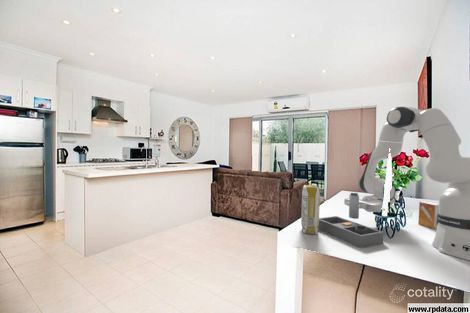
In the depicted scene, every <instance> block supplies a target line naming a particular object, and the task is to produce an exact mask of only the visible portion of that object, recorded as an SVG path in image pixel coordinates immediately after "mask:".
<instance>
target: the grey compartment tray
mask: <svg viewBox="0 0 470 313" xmlns="http://www.w3.org/2000/svg"><path fill="white" fill-rule="evenodd" d="M357 225H363V224H361V223H357V222H355V221H351V220H348V219H346V218H343V217H340V216H337V215H335V216H327V217H319V229H318V230H320V231H322V232H325V233H326V234H328V235H331V236H333V237H335V238H337V239H340V240H342V241H343V242H346V243H348V244H351V245H353V246H355V247H358V248H360V249H362V248H367V247H372V246H376V245H377V244H378V245H382V244H384V231H382V230H378V229H375V228H373V227H369V226H366V225H363V226H365V227H366V228H367V234H364V235H359V234H357V233H355V227H356V226H357Z"/></svg>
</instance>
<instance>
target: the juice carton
mask: <svg viewBox="0 0 470 313" xmlns="http://www.w3.org/2000/svg"><path fill="white" fill-rule="evenodd" d="M320 197H321V193H320V188H319V187H318V184H316V183H311V185H309V184H304V185H303V186H302V191H301V216H300V217H301V218H300V220H301V221H300V222H301V228H302V232H303V234H308V235H318V234H319V230H320V229H319V218H320V204H321V202H320V201H321V198H320Z"/></svg>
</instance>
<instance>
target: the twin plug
mask: <svg viewBox="0 0 470 313" xmlns="http://www.w3.org/2000/svg"><path fill="white" fill-rule="evenodd" d="M365 226H366V225H364V226H363V224H361V225H357V226H356V227H355V233H357V234H359V235H364V234H367V228H366V227H365Z"/></svg>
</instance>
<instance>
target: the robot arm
mask: <svg viewBox="0 0 470 313" xmlns="http://www.w3.org/2000/svg"><path fill="white" fill-rule="evenodd" d="M418 131H420V134H421V137H422V138H423V140H424V142H425V143H426V144H425V145H426V147H427V149H428V151H429V152H428V153H429V161H428V163H426V164H427V165H426V167H425V173H426V175H427V176H428V178H429V179H430V180H433V181H434V182H438V183H442V184H447V186H446V187H445V190H444V191H443V192H441V193H440V194H439V196H438V204H439V213H437V229H436V231H435V236H434V238H433V241H432V243H431V245H432V246H433V247H434V248H435V249H437V250H438V251H439V253H443V254H446V255H449V256H452V257H455V258H456V257H457V258H460V259H463V260H466V261H469V262H470V156H469V157H468V156H467V157H466V156H465V157H463V156H462V154H461V153H460V150H459V148H460V145H461V143H462V140H461V137H460V136H459V133H458V132H457V130H456V129H455V127H454V125H453V124H452V121H451V120H450V119H449V117H448V116H447V115H446V114H445V113H444V112H443V110H441V109H439V108H436V107H433V108H432V107H431V108H428V109H420V108H416V107H411V106H410V107H409V106H408V107H407V106H396V107H394V108H392V109H390V110H389V111H388V113H387V115H386V123H384V124H383V126H382V128H381V130H380V134H379V137H378V142H377V146H376V147H375V149H373V150H372V151H371V152H370V154H369V156H368V158H367V161H366V164H365V168H364V170H363V173H362V176H361V177H360V180H358V185H359V188H360V190H361V191H362V192H364V193H369V194H373V195H365V196H364V197H362V198H359V204H358V205H357V208H359V209H363V210H365V211H366V212H368V213H380V212H381V208H382V202H383V192H384V184H385V180H386V179H385V178H379V177H376V176H375V173H376V170H377V168H378V167H377V166H378V164H379V162H381V161H384V160H387V156H388V154H389V153H391V156H392V158H395V157H396V156H398V155H399V154H400V153H401V151H402V148H403V143H404V137H405V135H406V133H408V132H409V133H414V132H418ZM389 148H390V149H391V150H390V152H389ZM391 182H392V189H391V195H390V203H391V204H393V203H395V204H396V200H395V196H396V191H397V190H396V189H397V188H396V186H395V184H394V183H393V181H391ZM343 201H344V205H346V206H348V207H349V197H347V198H344V200H343Z"/></svg>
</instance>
